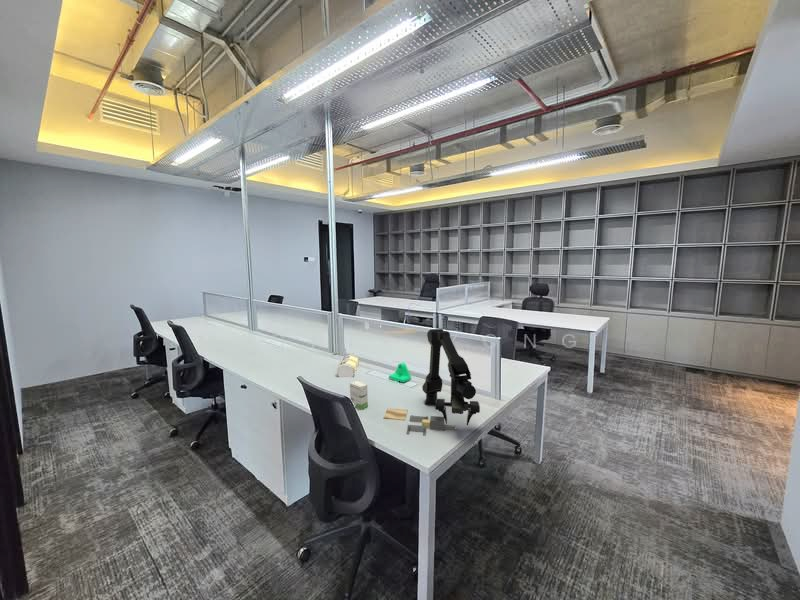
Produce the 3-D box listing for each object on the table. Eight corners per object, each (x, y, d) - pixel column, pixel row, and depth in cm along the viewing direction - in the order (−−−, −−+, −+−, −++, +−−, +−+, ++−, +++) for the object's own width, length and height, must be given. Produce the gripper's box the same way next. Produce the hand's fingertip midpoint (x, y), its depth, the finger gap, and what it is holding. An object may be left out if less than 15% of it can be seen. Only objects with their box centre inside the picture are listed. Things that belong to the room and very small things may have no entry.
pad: (387, 409, 162) (387, 408, 162) (407, 410, 160) (407, 409, 160) (383, 418, 152) (383, 417, 152) (404, 420, 150) (404, 419, 150)
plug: (422, 423, 147) (422, 415, 147) (455, 426, 145) (455, 417, 144) (421, 428, 143) (422, 420, 142) (455, 431, 140) (455, 422, 140)
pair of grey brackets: (411, 416, 154) (411, 412, 153) (428, 418, 152) (428, 414, 152) (406, 433, 138) (406, 429, 138) (425, 435, 137) (425, 431, 137)
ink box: (368, 407, 164) (368, 384, 162) (360, 410, 160) (360, 387, 159) (357, 401, 170) (357, 380, 168) (349, 404, 166) (349, 382, 165)
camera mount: (388, 379, 203) (388, 363, 201) (396, 376, 208) (396, 360, 207) (403, 384, 195) (403, 367, 194) (411, 380, 201) (411, 364, 199)
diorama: (344, 365, 231) (343, 347, 229) (358, 365, 231) (358, 347, 229) (337, 377, 206) (336, 357, 204) (353, 377, 206) (353, 357, 204)
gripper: (434, 396, 134) (434, 431, 136) (481, 399, 131) (480, 435, 133) (436, 385, 145) (435, 419, 147) (479, 388, 142) (478, 422, 144)
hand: (456, 424), depth 142 cm, fingers open, 9 cm apart
